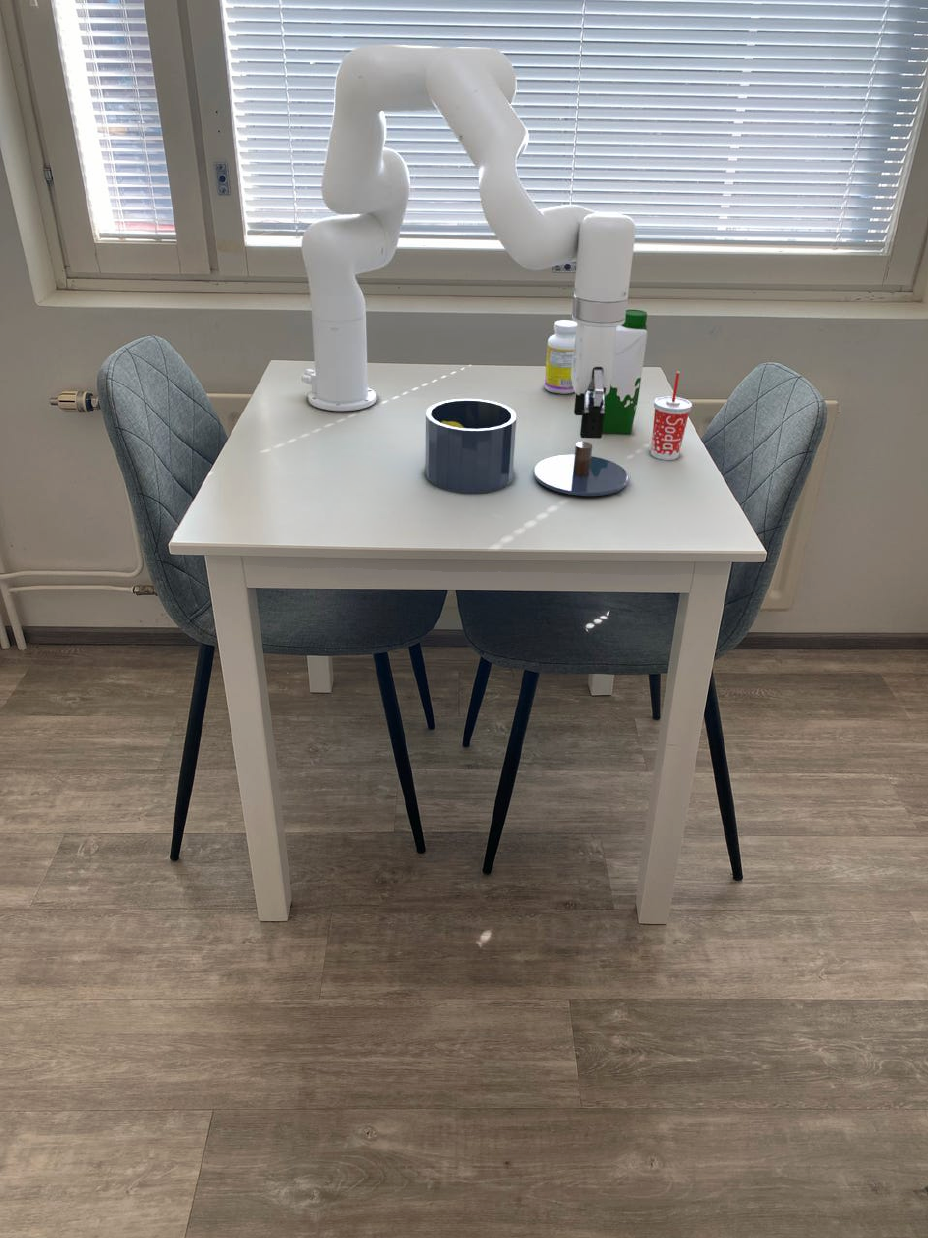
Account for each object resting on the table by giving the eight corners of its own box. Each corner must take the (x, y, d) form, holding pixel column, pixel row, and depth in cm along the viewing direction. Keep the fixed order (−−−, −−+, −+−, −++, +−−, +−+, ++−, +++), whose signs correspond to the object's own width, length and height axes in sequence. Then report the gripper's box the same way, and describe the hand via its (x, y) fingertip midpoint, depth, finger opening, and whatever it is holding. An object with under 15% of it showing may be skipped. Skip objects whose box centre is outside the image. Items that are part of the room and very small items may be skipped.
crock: (422, 491, 135) (423, 428, 129) (428, 456, 146) (429, 396, 141) (512, 495, 135) (517, 432, 129) (511, 460, 146) (515, 400, 141)
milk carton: (636, 436, 157) (653, 319, 146) (584, 434, 157) (597, 317, 146) (630, 418, 164) (645, 306, 153) (581, 416, 164) (592, 304, 153)
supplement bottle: (555, 381, 181) (561, 316, 174) (584, 388, 177) (591, 322, 170) (537, 389, 176) (542, 323, 169) (566, 397, 173) (573, 329, 166)
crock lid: (535, 497, 134) (538, 461, 131) (532, 459, 147) (535, 425, 144) (632, 501, 134) (637, 465, 131) (621, 463, 147) (626, 429, 143)
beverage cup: (643, 458, 149) (655, 374, 141) (649, 445, 154) (662, 364, 146) (680, 464, 147) (694, 380, 139) (685, 450, 152) (700, 369, 144)
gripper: (567, 294, 134) (558, 405, 143) (578, 325, 119) (567, 446, 128) (618, 296, 134) (605, 407, 143) (634, 326, 119) (619, 448, 128)
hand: (587, 425), depth 136 cm, fingers open, 9 cm apart
